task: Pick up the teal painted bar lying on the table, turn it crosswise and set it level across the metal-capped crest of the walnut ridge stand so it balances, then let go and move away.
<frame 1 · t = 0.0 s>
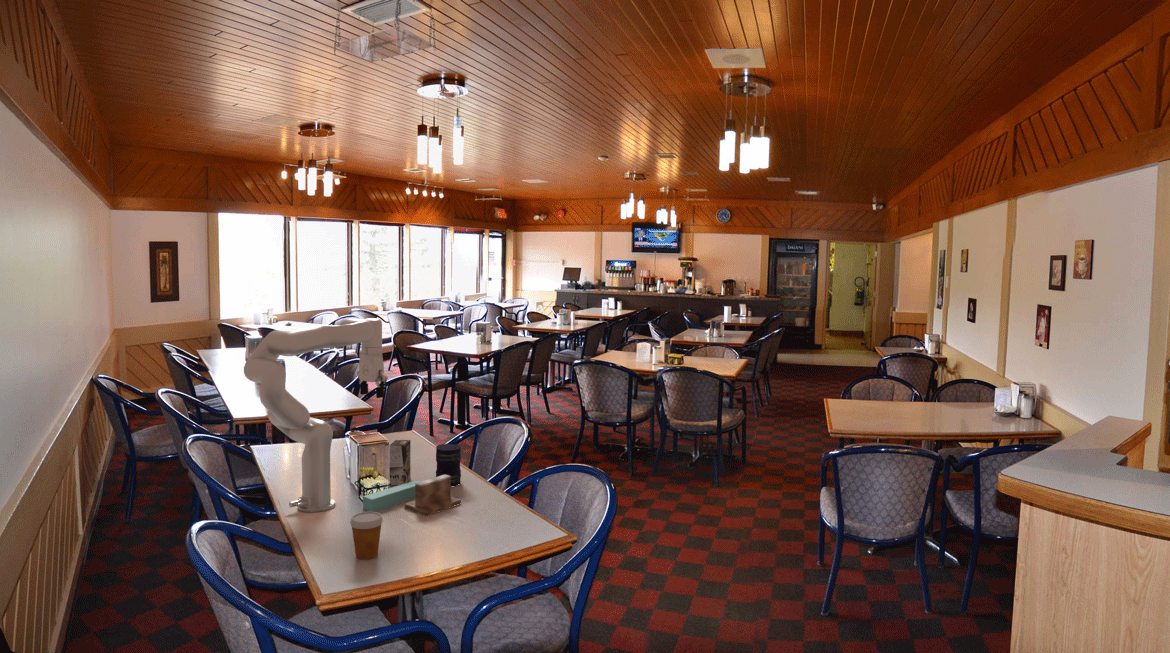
hand: (372, 395, 266), 37 cm above the table, tool pointing down, fingers open, 9 cm apart
storage jar: (448, 483, 279), on the table
disposable coffee cup: (366, 555, 211), on the table
teal bar: (395, 502, 257), on the table
coffee box: (400, 482, 280), on the table
walnut ridge stand: (433, 506, 254), on the table
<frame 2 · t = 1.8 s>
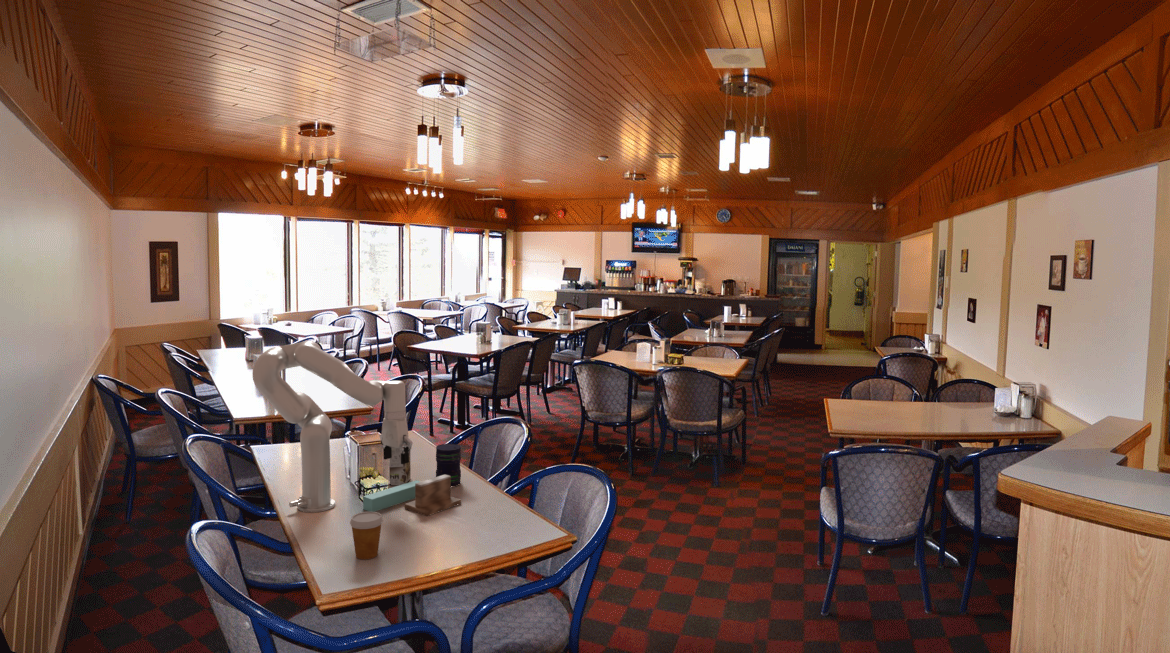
hand: (396, 460, 256), 15 cm above the table, tool pointing down, fingers open, 9 cm apart
nothing on the table moved.
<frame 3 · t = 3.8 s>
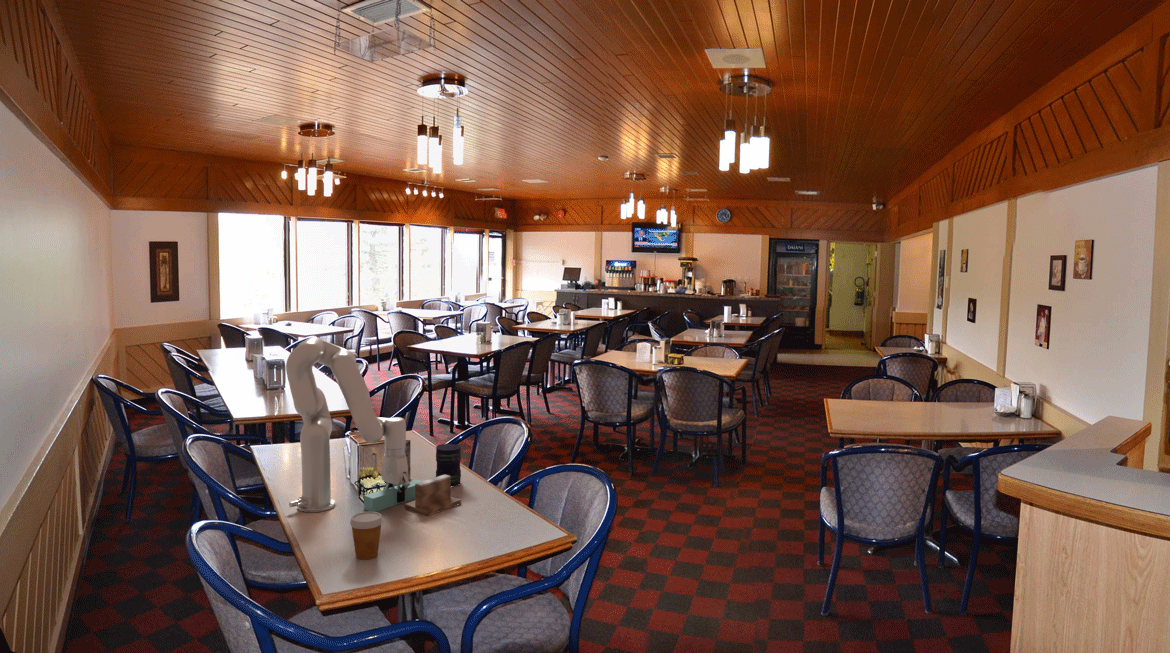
hand: (395, 499, 257), 1 cm above the table, tool pointing down, fingers closed on teal bar, 5 cm apart
teal bar: (395, 501, 257), on the table, touching gripper
everything else where it was.
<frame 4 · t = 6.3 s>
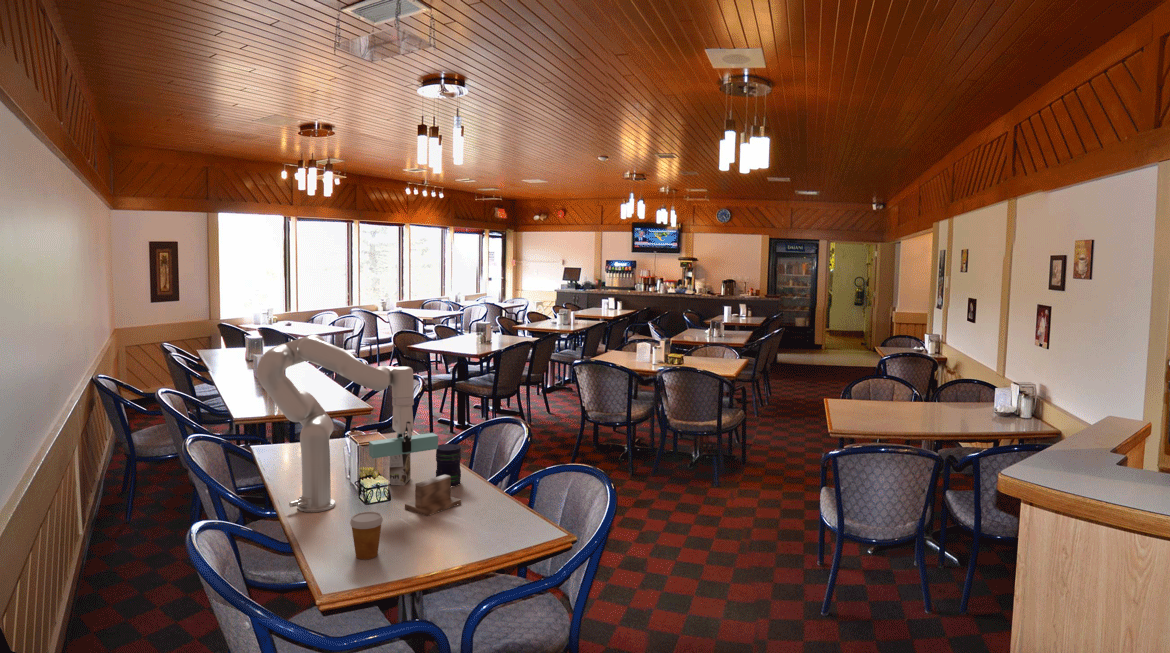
hand: (404, 449, 255), 20 cm above the table, tool pointing down, fingers closed on teal bar, 5 cm apart
teal bar: (404, 451, 255), point 19 cm above the table, touching gripper
everything else where it was.
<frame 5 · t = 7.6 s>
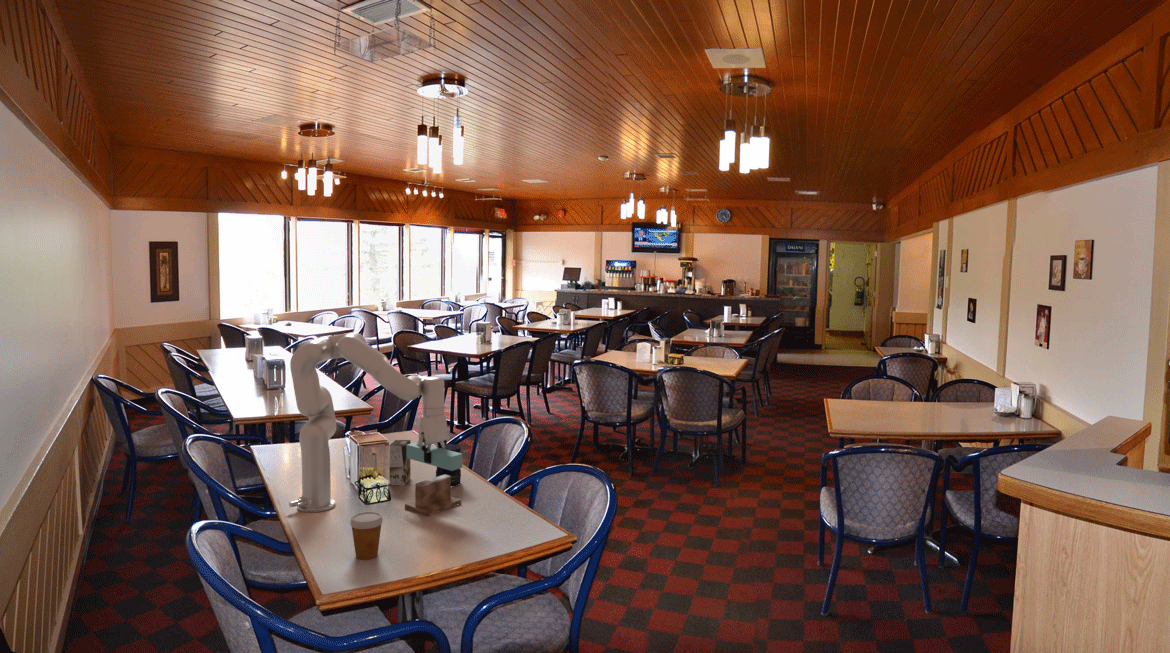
hand: (433, 460, 252), 17 cm above the table, tool pointing down, fingers closed on teal bar, 5 cm apart
teal bar: (433, 462, 252), point 16 cm above the table, touching gripper
everything else where it was.
when the fingers open (12 cm above the table, at t = 8.8 s): teal bar drops 1 cm, resting on walnut ridge stand.
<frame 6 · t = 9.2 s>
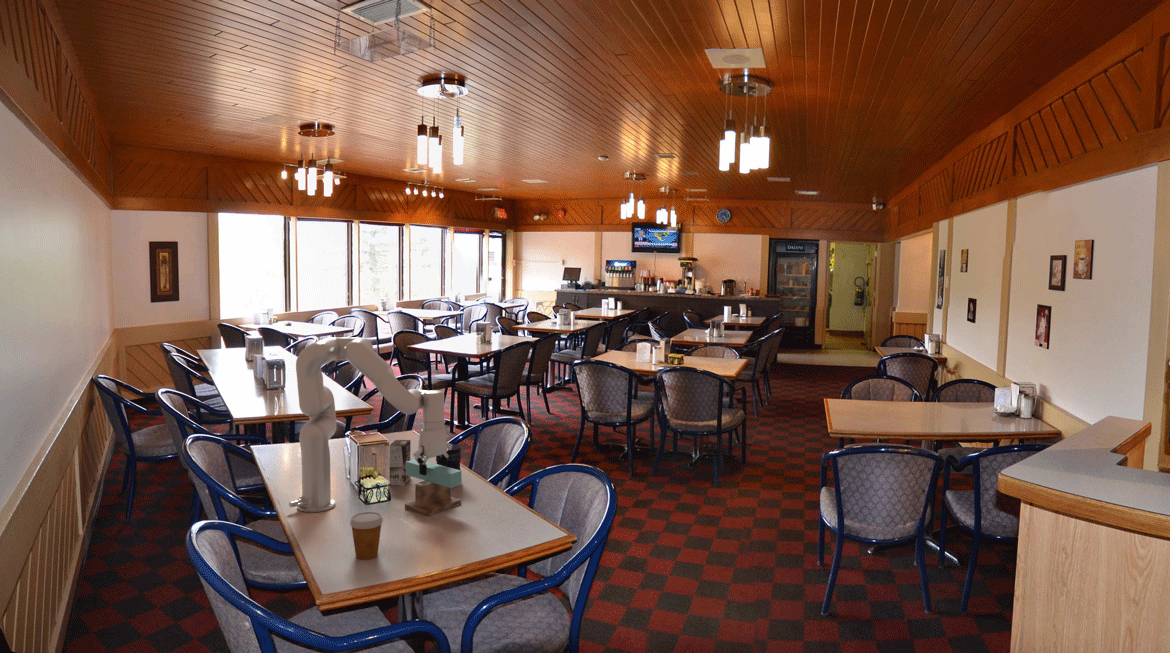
hand: (433, 471, 253), 13 cm above the table, tool pointing down, fingers open, 9 cm apart
teal bar: (433, 479, 253), point 10 cm above the table, touching walnut ridge stand
everything else where it was.
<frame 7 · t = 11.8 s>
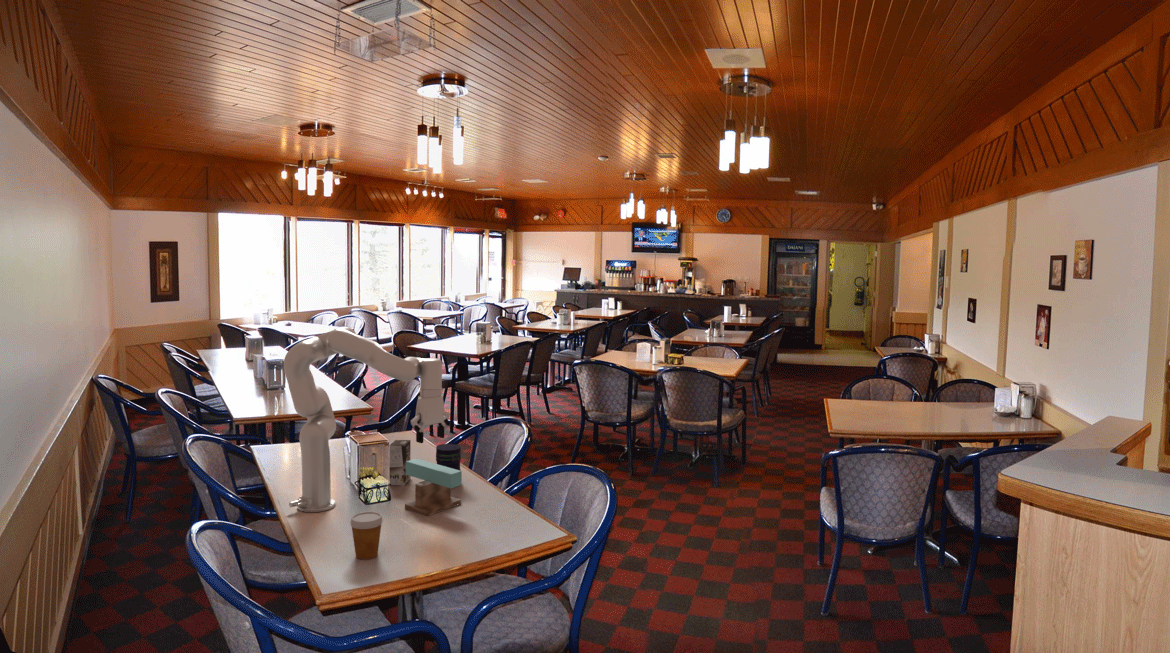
hand: (430, 439, 252), 24 cm above the table, tool pointing down, fingers open, 9 cm apart
nothing on the table moved.
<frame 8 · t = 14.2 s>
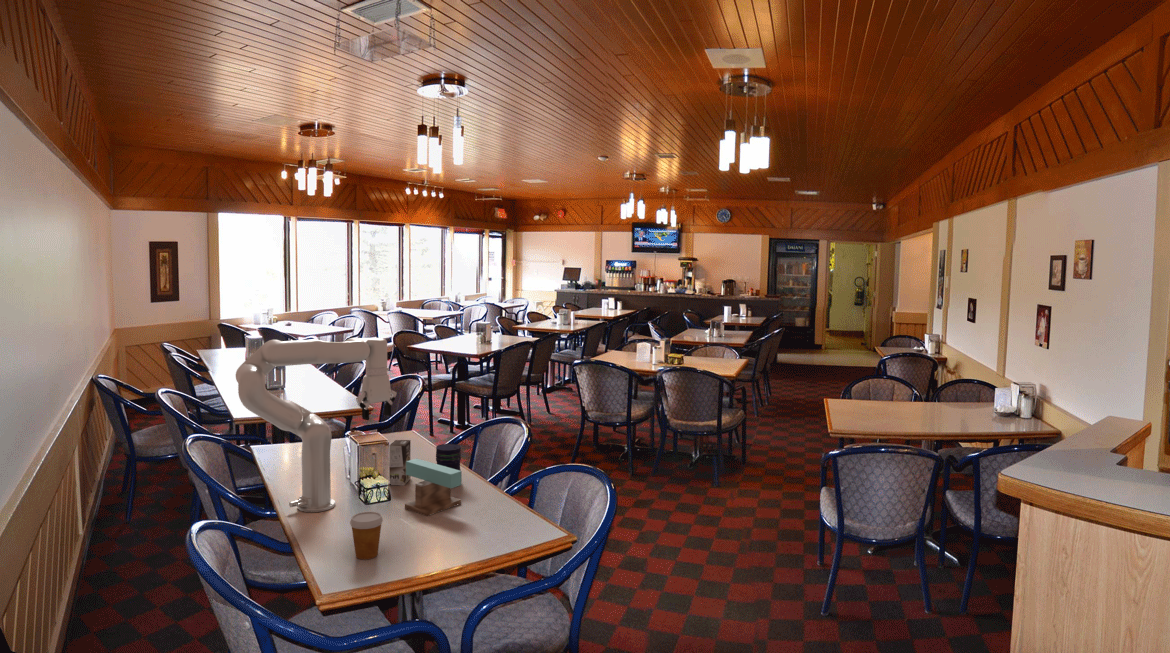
hand: (376, 417, 259), 30 cm above the table, tool pointing down, fingers open, 9 cm apart
nothing on the table moved.
at the end: teal bar touching walnut ridge stand; teal bar point 9.8 cm above the table; teal bar tilted 0° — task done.
